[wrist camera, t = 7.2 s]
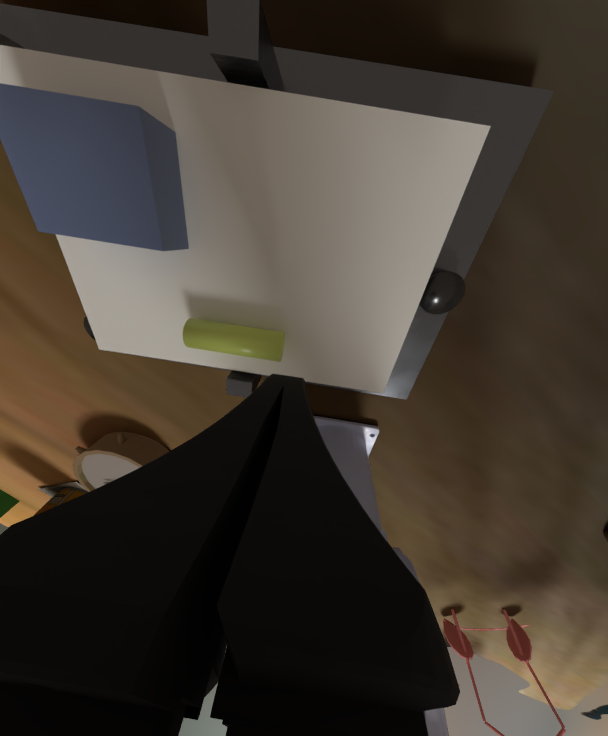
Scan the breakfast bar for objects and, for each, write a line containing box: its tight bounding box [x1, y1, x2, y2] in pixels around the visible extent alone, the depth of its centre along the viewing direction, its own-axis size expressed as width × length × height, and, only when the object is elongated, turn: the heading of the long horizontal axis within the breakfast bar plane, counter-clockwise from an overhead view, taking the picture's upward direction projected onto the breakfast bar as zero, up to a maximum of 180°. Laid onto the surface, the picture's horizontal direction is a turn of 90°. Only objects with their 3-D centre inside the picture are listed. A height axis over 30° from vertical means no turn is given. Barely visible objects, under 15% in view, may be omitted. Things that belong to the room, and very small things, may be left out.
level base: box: [0, 0, 554, 399], centre depth 13 cm, size 25×17×6 cm
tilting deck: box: [0, 45, 491, 393], centre depth 10 cm, size 18×12×3 cm, turn 82°
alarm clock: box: [73, 432, 170, 492], centre depth 28 cm, size 11×5×15 cm
